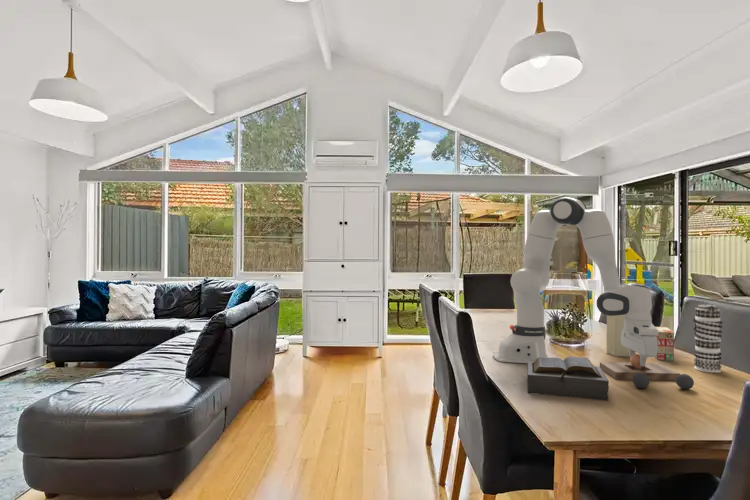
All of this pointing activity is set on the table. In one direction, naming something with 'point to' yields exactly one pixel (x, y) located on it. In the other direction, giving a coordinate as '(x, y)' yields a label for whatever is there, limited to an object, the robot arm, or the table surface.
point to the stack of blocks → (665, 344)
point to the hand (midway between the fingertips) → (637, 363)
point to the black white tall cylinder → (707, 338)
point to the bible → (567, 378)
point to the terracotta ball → (635, 361)
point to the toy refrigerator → (615, 336)
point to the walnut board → (638, 371)
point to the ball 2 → (684, 381)
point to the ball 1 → (640, 380)
